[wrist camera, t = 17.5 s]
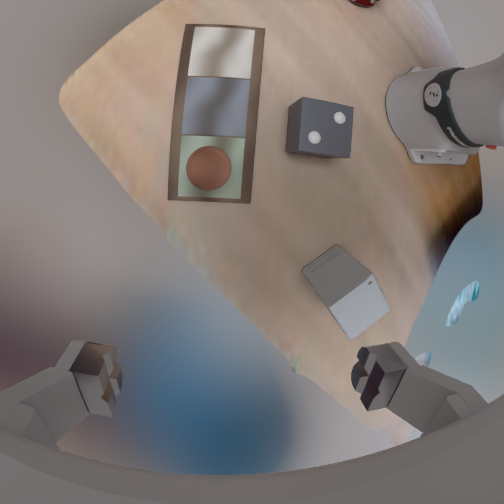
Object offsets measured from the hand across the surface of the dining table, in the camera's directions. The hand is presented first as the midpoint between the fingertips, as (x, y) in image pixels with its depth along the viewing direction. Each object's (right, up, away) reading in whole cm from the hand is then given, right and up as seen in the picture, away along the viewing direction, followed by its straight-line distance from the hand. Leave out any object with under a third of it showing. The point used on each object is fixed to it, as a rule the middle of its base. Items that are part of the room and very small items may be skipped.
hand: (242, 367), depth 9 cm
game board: (-5, +24, +28) cm, 37 cm away
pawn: (-5, +16, +30) cm, 34 cm away
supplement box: (+13, 0, +38) cm, 40 cm away
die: (+9, +21, +30) cm, 38 cm away
